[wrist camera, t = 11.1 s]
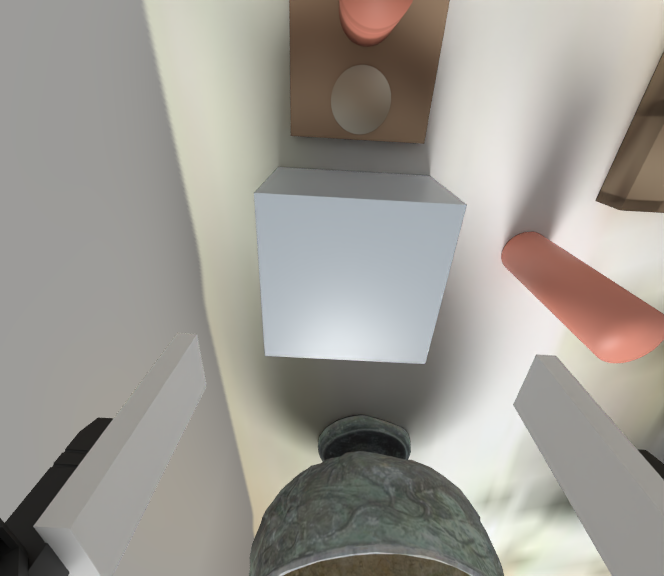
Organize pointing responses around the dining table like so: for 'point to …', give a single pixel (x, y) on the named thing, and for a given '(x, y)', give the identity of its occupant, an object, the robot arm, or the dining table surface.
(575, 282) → the peg
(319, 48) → the board
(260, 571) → the bowl
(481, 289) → the dining table surface
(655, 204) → the board
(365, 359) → the cover
